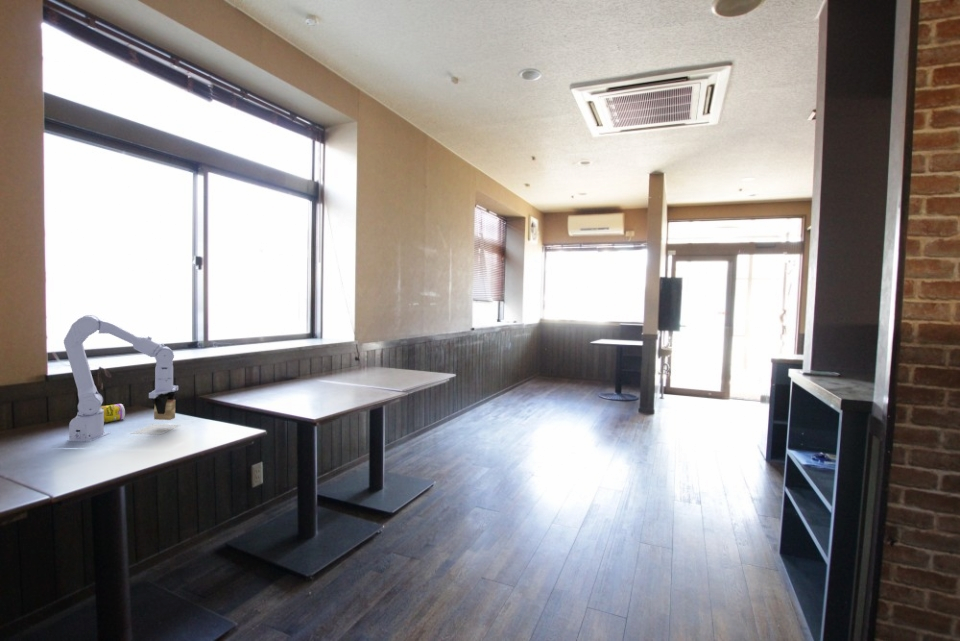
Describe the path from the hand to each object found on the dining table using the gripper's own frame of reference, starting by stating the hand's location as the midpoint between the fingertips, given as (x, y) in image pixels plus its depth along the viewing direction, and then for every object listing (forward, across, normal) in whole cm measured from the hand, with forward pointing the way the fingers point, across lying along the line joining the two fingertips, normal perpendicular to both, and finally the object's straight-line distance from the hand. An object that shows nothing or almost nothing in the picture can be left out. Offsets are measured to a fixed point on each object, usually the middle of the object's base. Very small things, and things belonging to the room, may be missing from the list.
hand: (164, 412), depth 174 cm
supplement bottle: (+3, +11, +23) cm, 26 cm away
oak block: (+2, 0, 0) cm, 3 cm away
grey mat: (+6, -2, +2) cm, 7 cm away
